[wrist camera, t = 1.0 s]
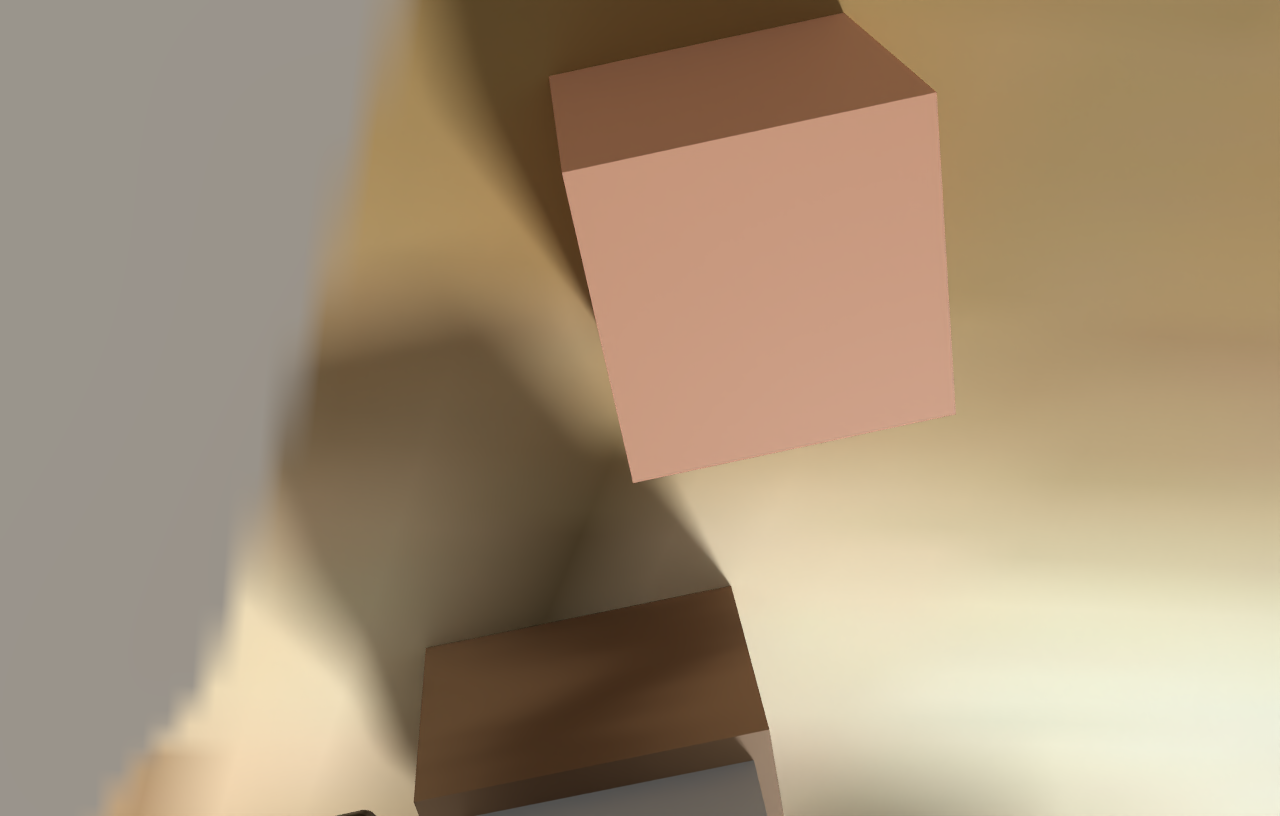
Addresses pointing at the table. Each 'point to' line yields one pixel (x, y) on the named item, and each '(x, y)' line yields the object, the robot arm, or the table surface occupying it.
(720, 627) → the walnut base block
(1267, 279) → the table surface
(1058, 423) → the table surface
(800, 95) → the terracotta cube
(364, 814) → the robot arm
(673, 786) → the slate block
